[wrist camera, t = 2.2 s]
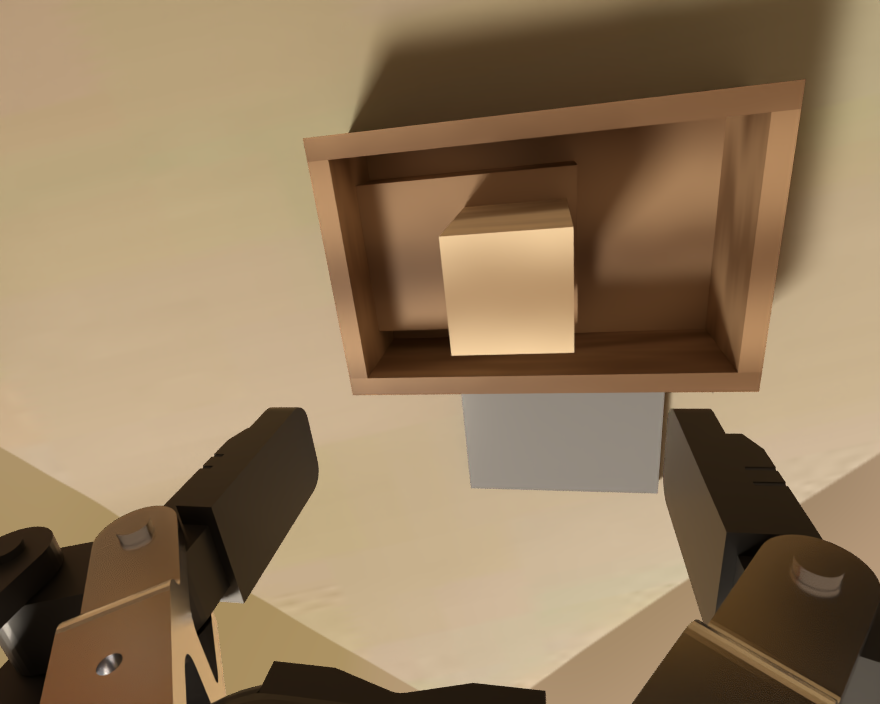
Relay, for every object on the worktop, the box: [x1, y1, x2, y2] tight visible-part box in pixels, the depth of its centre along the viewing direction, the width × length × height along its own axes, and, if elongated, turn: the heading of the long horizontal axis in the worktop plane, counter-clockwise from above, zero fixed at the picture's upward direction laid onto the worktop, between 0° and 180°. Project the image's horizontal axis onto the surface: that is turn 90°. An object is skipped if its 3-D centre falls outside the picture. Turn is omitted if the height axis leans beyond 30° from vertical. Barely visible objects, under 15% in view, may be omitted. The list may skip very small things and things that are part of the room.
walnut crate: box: [303, 79, 806, 395], centre depth 27 cm, size 13×20×6 cm, turn 96°
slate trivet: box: [461, 392, 665, 493], centre depth 33 cm, size 9×12×1 cm
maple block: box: [439, 199, 574, 356], centre depth 24 cm, size 5×5×7 cm
